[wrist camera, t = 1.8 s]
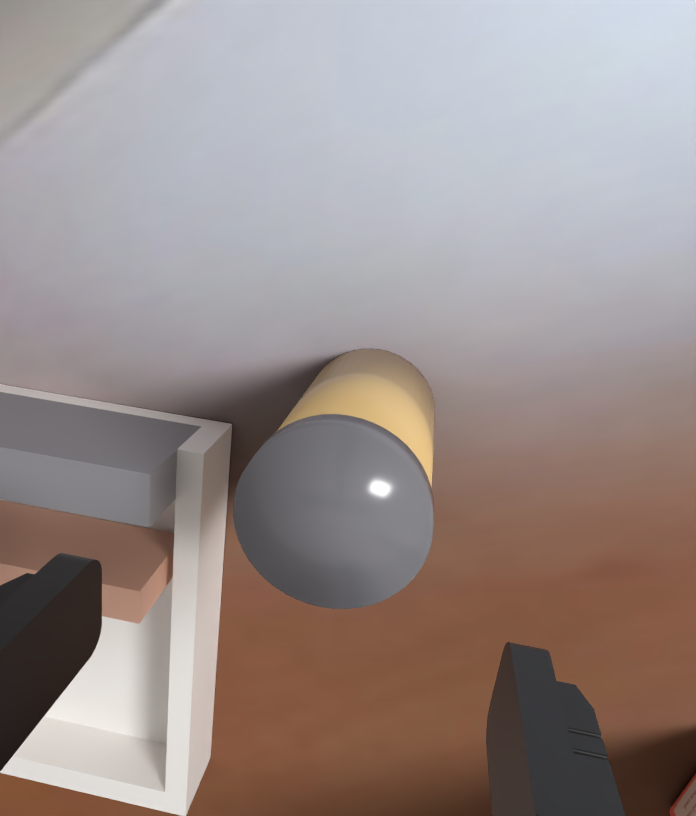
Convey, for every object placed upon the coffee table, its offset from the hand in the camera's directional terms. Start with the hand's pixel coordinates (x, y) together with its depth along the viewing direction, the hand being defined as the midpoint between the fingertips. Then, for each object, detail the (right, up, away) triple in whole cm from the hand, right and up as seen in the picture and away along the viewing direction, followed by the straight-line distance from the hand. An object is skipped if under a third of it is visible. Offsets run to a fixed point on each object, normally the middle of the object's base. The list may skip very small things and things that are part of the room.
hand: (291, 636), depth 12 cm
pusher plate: (-11, -1, +15) cm, 18 cm away
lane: (-11, -4, +17) cm, 21 cm away
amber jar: (+2, +4, +12) cm, 13 cm away
